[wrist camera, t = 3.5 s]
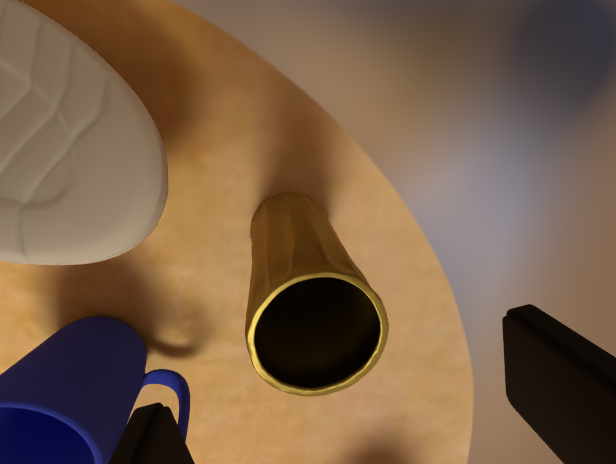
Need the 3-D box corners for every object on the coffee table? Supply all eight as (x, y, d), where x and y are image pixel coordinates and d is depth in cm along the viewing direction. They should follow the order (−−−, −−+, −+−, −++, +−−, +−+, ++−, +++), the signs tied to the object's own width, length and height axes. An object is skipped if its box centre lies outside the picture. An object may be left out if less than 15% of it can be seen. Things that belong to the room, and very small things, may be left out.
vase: (240, 255, 25) (210, 389, 12) (265, 180, 24) (266, 234, 10) (312, 277, 27) (362, 421, 13) (340, 207, 25) (428, 286, 12)
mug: (194, 406, 29) (158, 540, 19) (42, 381, 26) (-86, 520, 17) (218, 326, 27) (192, 429, 17) (57, 291, 24) (-77, 388, 15)
